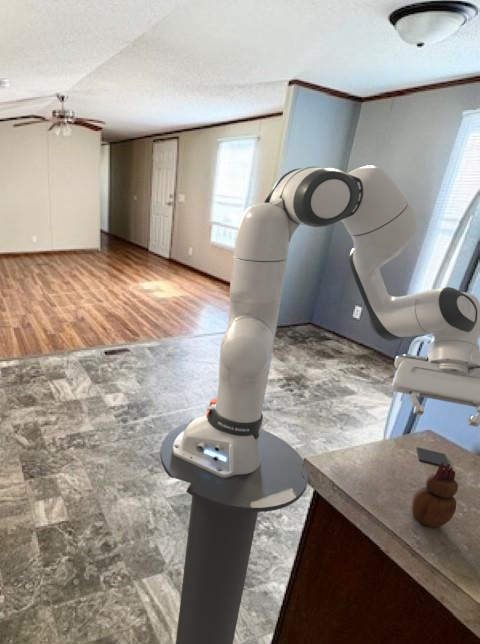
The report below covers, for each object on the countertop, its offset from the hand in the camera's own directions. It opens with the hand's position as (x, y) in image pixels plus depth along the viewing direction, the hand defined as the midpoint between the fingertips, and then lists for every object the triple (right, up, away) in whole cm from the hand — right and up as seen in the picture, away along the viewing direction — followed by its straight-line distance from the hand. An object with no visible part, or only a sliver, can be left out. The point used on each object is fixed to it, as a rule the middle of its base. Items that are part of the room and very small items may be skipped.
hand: (445, 419), depth 90 cm
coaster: (+11, -13, +17) cm, 24 cm away
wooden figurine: (-6, -21, -2) cm, 22 cm away
